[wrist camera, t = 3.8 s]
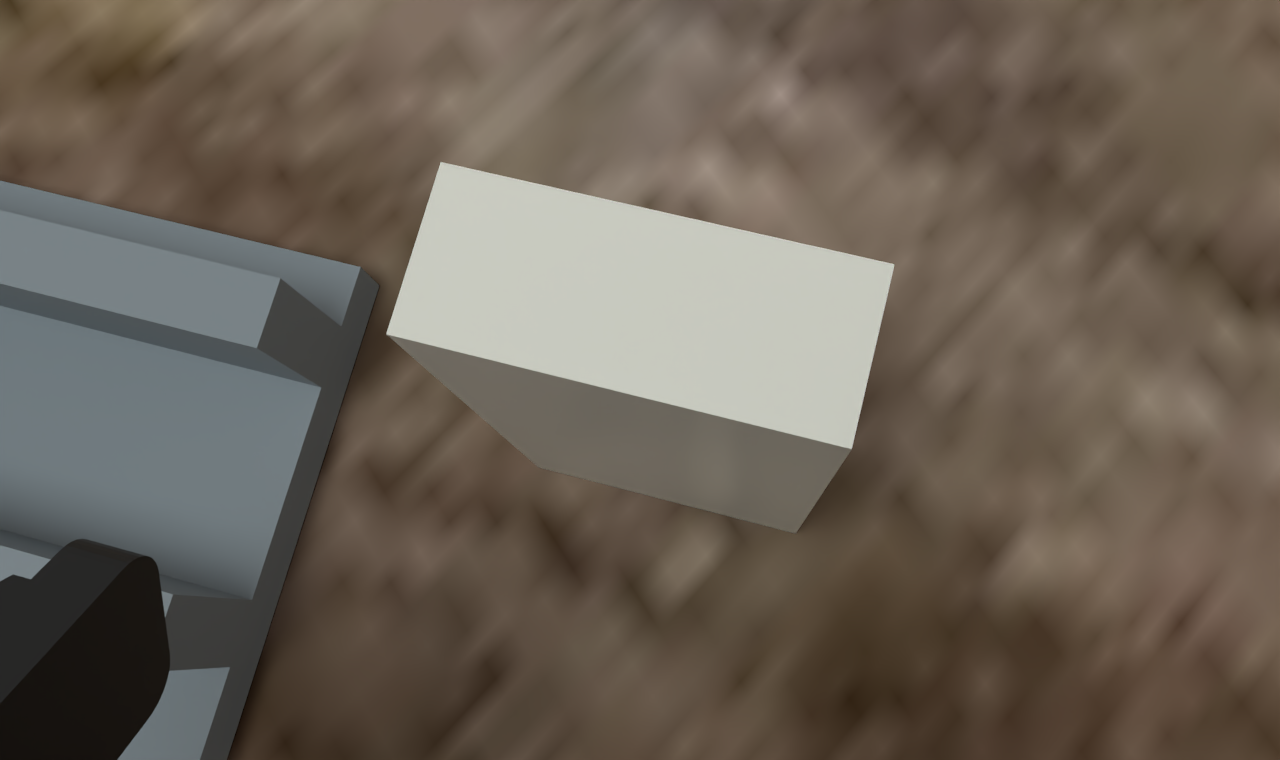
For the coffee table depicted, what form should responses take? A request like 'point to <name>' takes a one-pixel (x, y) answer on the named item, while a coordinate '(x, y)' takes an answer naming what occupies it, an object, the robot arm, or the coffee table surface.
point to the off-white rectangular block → (644, 342)
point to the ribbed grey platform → (169, 424)
